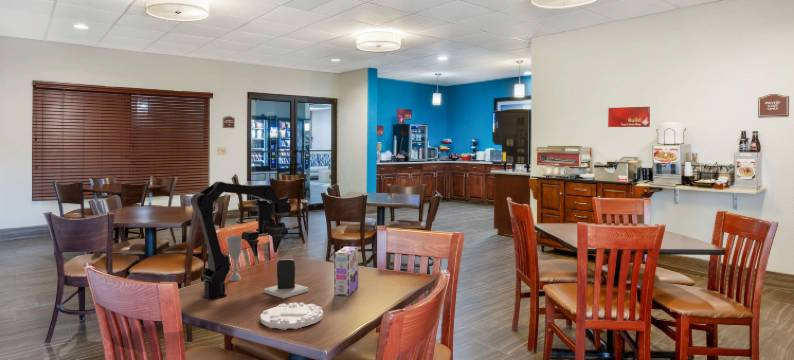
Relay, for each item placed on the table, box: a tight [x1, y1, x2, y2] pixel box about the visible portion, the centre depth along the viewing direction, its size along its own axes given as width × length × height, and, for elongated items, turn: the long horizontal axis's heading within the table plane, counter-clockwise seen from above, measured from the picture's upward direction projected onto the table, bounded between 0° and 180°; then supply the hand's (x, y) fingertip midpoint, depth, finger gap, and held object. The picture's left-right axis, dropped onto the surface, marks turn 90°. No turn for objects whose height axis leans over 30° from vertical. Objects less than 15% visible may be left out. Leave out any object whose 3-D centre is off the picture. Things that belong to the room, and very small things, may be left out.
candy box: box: [333, 246, 359, 297], centre depth 192 cm, size 14×6×16 cm, turn 168°
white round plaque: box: [260, 302, 324, 330], centre depth 161 cm, size 20×20×3 cm
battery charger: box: [276, 257, 296, 289], centre depth 191 cm, size 7×4×11 cm, turn 101°
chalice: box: [225, 235, 243, 282], centre depth 209 cm, size 7×7×18 cm
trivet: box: [263, 283, 309, 299], centre depth 191 cm, size 12×12×2 cm
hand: (265, 254), depth 199 cm, fingers open, 9 cm apart
